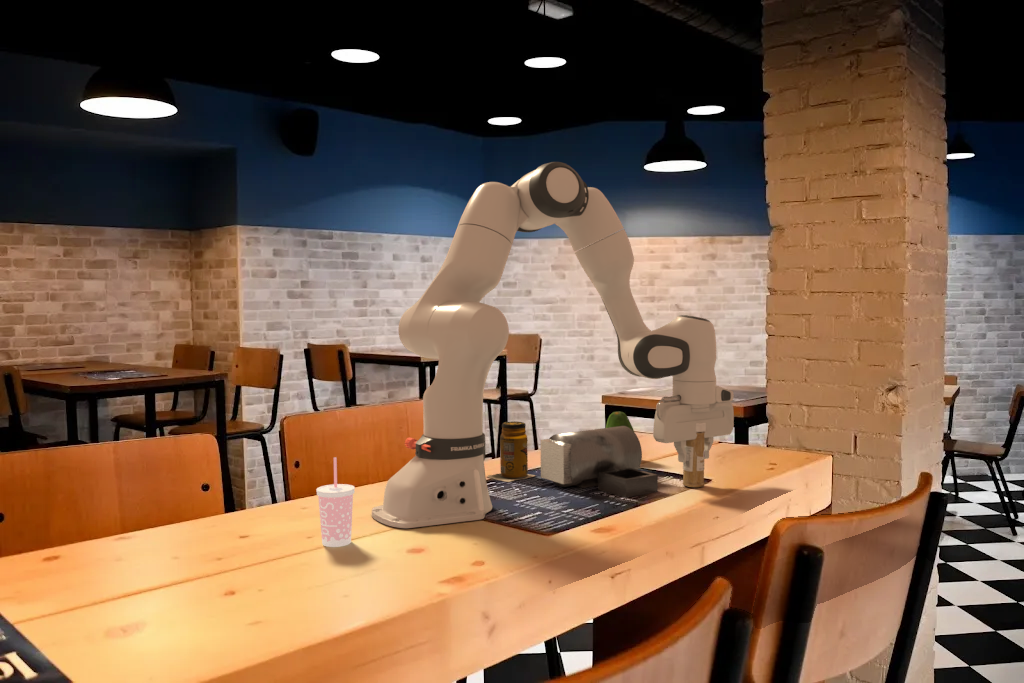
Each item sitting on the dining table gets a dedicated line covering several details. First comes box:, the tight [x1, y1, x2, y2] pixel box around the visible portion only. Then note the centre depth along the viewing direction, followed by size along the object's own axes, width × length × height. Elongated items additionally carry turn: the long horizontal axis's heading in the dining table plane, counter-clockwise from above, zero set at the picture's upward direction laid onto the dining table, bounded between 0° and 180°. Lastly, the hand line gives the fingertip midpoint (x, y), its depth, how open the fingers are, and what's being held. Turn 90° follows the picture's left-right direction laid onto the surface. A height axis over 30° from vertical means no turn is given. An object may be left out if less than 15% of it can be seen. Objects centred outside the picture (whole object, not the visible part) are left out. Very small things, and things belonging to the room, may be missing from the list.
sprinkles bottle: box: [681, 422, 706, 488], centre depth 170 cm, size 5×5×13 cm
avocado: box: [605, 410, 636, 434], centre depth 197 cm, size 8×8×12 cm
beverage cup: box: [315, 456, 356, 548], centre depth 133 cm, size 6×6×14 cm
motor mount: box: [540, 426, 659, 499], centre depth 172 cm, size 23×21×11 cm
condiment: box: [486, 421, 537, 483], centre depth 181 cm, size 7×8×12 cm
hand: (693, 460), depth 170 cm, fingers closed on sprinkles bottle, 4 cm apart
